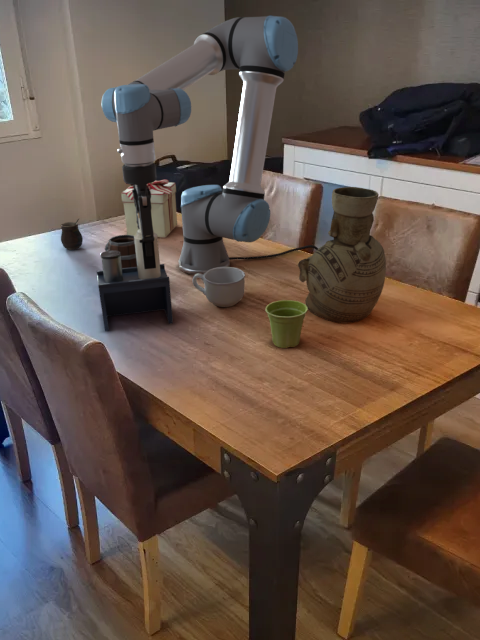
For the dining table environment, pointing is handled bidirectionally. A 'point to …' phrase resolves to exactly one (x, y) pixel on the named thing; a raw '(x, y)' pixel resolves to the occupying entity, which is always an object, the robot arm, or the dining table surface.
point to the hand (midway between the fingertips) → (148, 261)
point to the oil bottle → (142, 271)
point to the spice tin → (112, 266)
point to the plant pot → (286, 322)
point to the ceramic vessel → (346, 261)
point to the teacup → (222, 285)
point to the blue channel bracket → (134, 294)
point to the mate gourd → (71, 235)
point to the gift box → (153, 208)
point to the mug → (124, 249)
